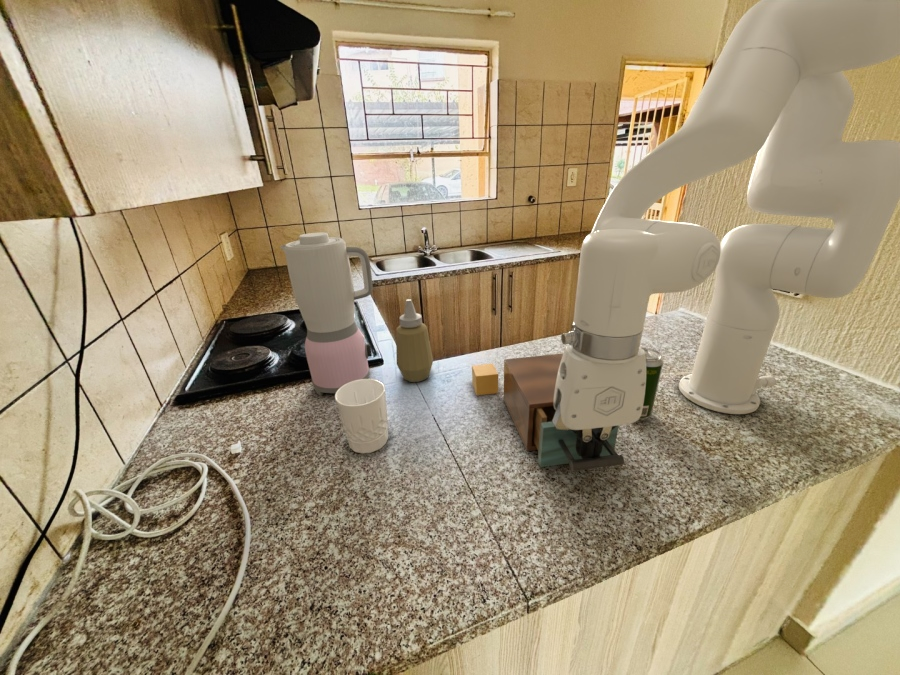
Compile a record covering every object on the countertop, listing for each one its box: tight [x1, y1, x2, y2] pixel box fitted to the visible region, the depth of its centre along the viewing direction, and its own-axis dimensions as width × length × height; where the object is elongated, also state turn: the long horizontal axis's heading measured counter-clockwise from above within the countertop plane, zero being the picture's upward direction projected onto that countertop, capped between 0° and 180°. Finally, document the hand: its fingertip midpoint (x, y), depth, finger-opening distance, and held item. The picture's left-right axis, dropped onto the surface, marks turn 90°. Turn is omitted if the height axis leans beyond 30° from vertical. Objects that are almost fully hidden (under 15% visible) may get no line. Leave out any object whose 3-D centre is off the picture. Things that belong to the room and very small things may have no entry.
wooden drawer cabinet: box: [502, 352, 564, 452], centre depth 63 cm, size 15×13×9 cm
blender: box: [279, 231, 374, 396], centre depth 73 cm, size 16×12×32 cm
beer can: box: [638, 346, 664, 421], centre depth 63 cm, size 5×5×12 cm
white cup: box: [334, 378, 389, 455], centre depth 60 cm, size 8×8×10 cm
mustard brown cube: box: [471, 363, 499, 396], centre depth 74 cm, size 4×4×4 cm
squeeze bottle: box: [395, 298, 434, 383], centre depth 77 cm, size 8×8×18 cm
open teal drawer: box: [532, 406, 625, 472], centre depth 56 cm, size 19×11×7 cm, turn 7°
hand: (587, 456), depth 50 cm, fingers closed
